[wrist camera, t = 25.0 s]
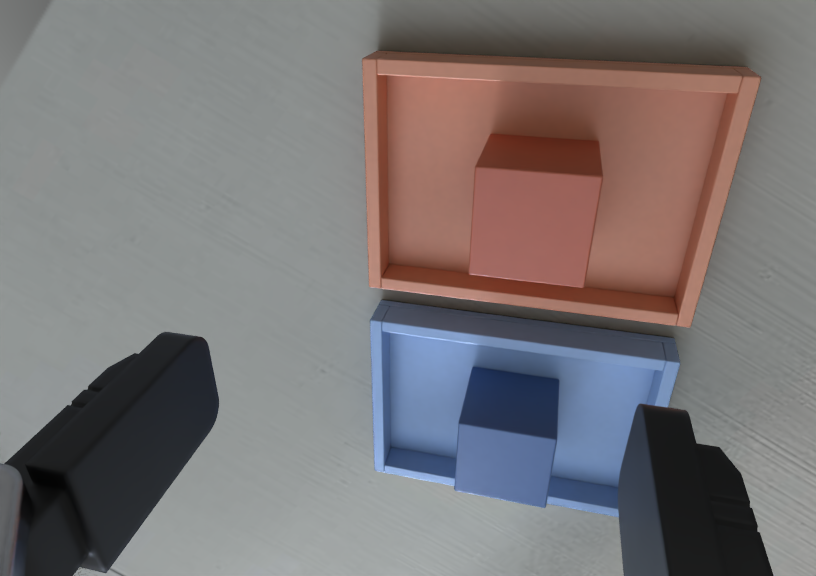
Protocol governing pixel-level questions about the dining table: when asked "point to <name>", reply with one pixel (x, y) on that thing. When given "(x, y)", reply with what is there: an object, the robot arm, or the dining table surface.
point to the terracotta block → (535, 209)
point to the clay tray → (568, 119)
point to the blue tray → (519, 353)
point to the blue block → (507, 436)
